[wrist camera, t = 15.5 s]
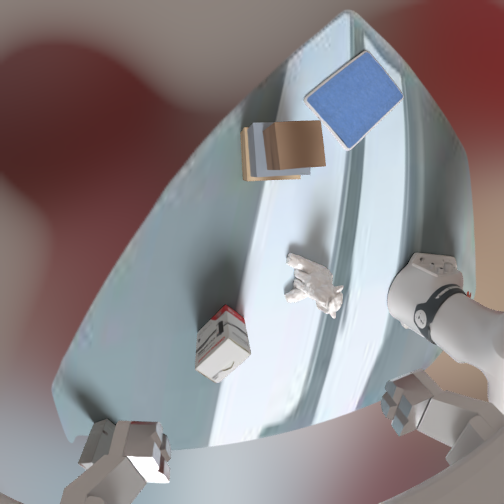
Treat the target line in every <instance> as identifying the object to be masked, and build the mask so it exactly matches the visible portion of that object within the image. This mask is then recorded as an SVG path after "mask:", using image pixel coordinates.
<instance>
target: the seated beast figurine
mask: <svg viewBox="0 0 504 504" xmlns="http://www.w3.org/2000/svg"><path fill="white" fill-rule="evenodd" d="M288 256H289V257H287V260H286V263H287V264H288V265H289V266H292V267H293V268H294V269H295V270H294V275H295V276H296V279H294V282H293V283H294V289H292V290H291V291H290V292H288V293H286V294H284V296H285V298H286V300H287V302H288V303H290V302H299V300H302V299H304V298H306V297H310V298H312V299H313V300H315V301H316V304H317V308H318V309H319V310H321V311H323V312H324V313H326V314H329V313H330V314H331V316H332V317H333V318H335V317H336V311H337V310H338V309H340V307H341V304H342V303H343V302H342V300H343V294H342V293H341V291H342V289H343V286H344V285H343V286H337V287H335V286H333V284H332V281H333V275H332V273H330V270H328V269H327V268H326V267H324V266H323V265H319V264H318V263H315V262H312V261H311V260H308V259H305V258H304V257H301V256H300V255H295V254H293V253H289V254H288ZM304 272H305V273H304ZM297 278H298V279H297ZM301 280H302V281H301ZM295 287H296V288H295Z"/></svg>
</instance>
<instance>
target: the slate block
mask: <svg viewBox="0 0 504 504" xmlns="http://www.w3.org/2000/svg"><path fill="white" fill-rule="evenodd" d="M273 123H274V122H260V123H252V125H251V126H250V127H249V128H248V129H247V134H248V147H249V161H250V175H251V177H270V176H288V175H310V167H308V168H296V169H285V170H267V163H266V155H265V147H264V139H263V131H264V130H265V129H266V128H268V127H269V126H270V125H272V124H273Z"/></svg>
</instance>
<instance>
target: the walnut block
mask: <svg viewBox="0 0 504 504" xmlns="http://www.w3.org/2000/svg"><path fill="white" fill-rule="evenodd" d="M263 139H264V147H265V155H266V163H267V170H285V169H296V168H308V167H321V166H326V163H325V153H324V144H323V136H322V128H321V120H316V121H288V122H274V123H273V124H272V125H270V126H269V127H268V128H266V129H265V130H264V131H263Z"/></svg>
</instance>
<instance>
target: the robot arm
mask: <svg viewBox="0 0 504 504" xmlns="http://www.w3.org/2000/svg"><path fill="white" fill-rule="evenodd" d="M420 258H421V259H420ZM470 297H471V293H470V295H469V291H468V292H467V295H466V294H465V292H464V291H463V275H462V273H461V272H460V271H459V270H457V263H456V259H455V258H454V257H452V256H445V255H436V254H427V253H418V252H417V253H414V254H413V256H412V257H411V259H410V261H409V263H408V264H407V265H406V267H405V268H403V269H402V270H401V271H400V273H399V274H398V275H397V276H396V278H395V279H394V281H393V283H392V285H391V287H390V290H389V293H388V300H387V305H388V310H389V312H390V314H391V315H392V316H393V317H394V318H395V319H397V320H399V321H400V323H401V325H402V326H403V327H404V328H406V329H408V328H410V329H412V330H413V331H415V332H416V333H418V334H419V335H421V336H422V337H425V338H426V339H427V340H428V341H429V342H431V343H433V344H435V345H438V346H439V347H440V348H441V349H443V350H444V351H445V352H446V353H447V354H448V355H449V356H451V357H452V358H453V359H454V360H455V361H456V362H458V363H469V364H471V365H473V366H475V367H477V368H478V369H480V370H481V371H482V372H483V373H484V375H485V376H486V378H487V380H488V400H489V402H486V401H482V400H478V399H475V398H471V397H468V396H464V395H461V394H457V393H454V392H451V391H448V390H446V391H443V390H442V389H441V388H440V387H439V386H438V385H437V384H436V383H435V382H434V381H433V380H432V379H431V377H429V375H428V374H427V373H426V372H425V371H424V370H422V369H418V370H415V371H413V372H410V373H407V374H405V375H402V376H400V377H397V378H394V379H392V380H389V381H388V382H387V383H386V386H385V389H386V391H387V392H386V393H385V394H384V395H383V396H382V400H381V407H382V411H383V413H384V415H385V417H386V418H388V419H390V420H392V427H393V428H394V430H395V431H396V433H397V434H398V436H402V435H404V434H406V433H409V432H411V431H413V430H416V429H417V430H418V431H420V432H422V433H424V434H426V435H428V436H430V437H432V438H434V439H436V440H438V441H440V442H442V443H444V444H446V445H448V446H450V447H452V448H451V450H450V451H449V453H448V454H447V455H446V460H447V462H448V463H449V464H450V466H449V467H448V468H446V469H445V470H443V471H441V472H440V473H438V474H437V475H435V476H433V477H431V478H430V479H428V480H426V481H424V482H423V483H421V484H419V485H417V486H415V487H413V488H411V489H409V490H408V491H405V492H403V493H401V494H399V495H397V496H395V497H393V498H390V499H388V500H386V501H384V502H381V503H379V504H504V312H501V311H495V310H492V309H489V308H487V307H485V306H483V305H481V304H480V303H478V302H476V301H474V300H473V299H471V298H470ZM170 459H171V447H170V442H169V439H168V437H167V435H165V434H164V433H163V427H162V425H161V423H160V422H140V421H118V422H117V424H116V427H115V431H114V434H113V438H112V442H111V446H110V450H109V454H108V455H104V456H102V457H101V458H100V459H99V460H98V461H97V462H96V463H94V464H93V465H92V466H91V467H90V468H88V469H87V470H86V471H85V472H84V473H83V474H81V476H79V477H78V478H77V479H75V480H74V481H73V482H72V483H70V484H69V485H68V486H67V487H66V488H65V489H64V491H63V495H62V499H61V503H60V504H131V503H132V502H133V500H134V499H135V498H136V497H137V495H138V494H139V493H140V492H141V490H142V489H143V488H144V486H145V485H146V482H153V483H169V481H170V480H169V479H170V467H169V465H168V464H167V462H168V461H169V460H170ZM0 504H23V503H21V502H18V501H16V500H14V499H12V498H10V497H8V496H6V495H4V494H2V493H0Z"/></svg>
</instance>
